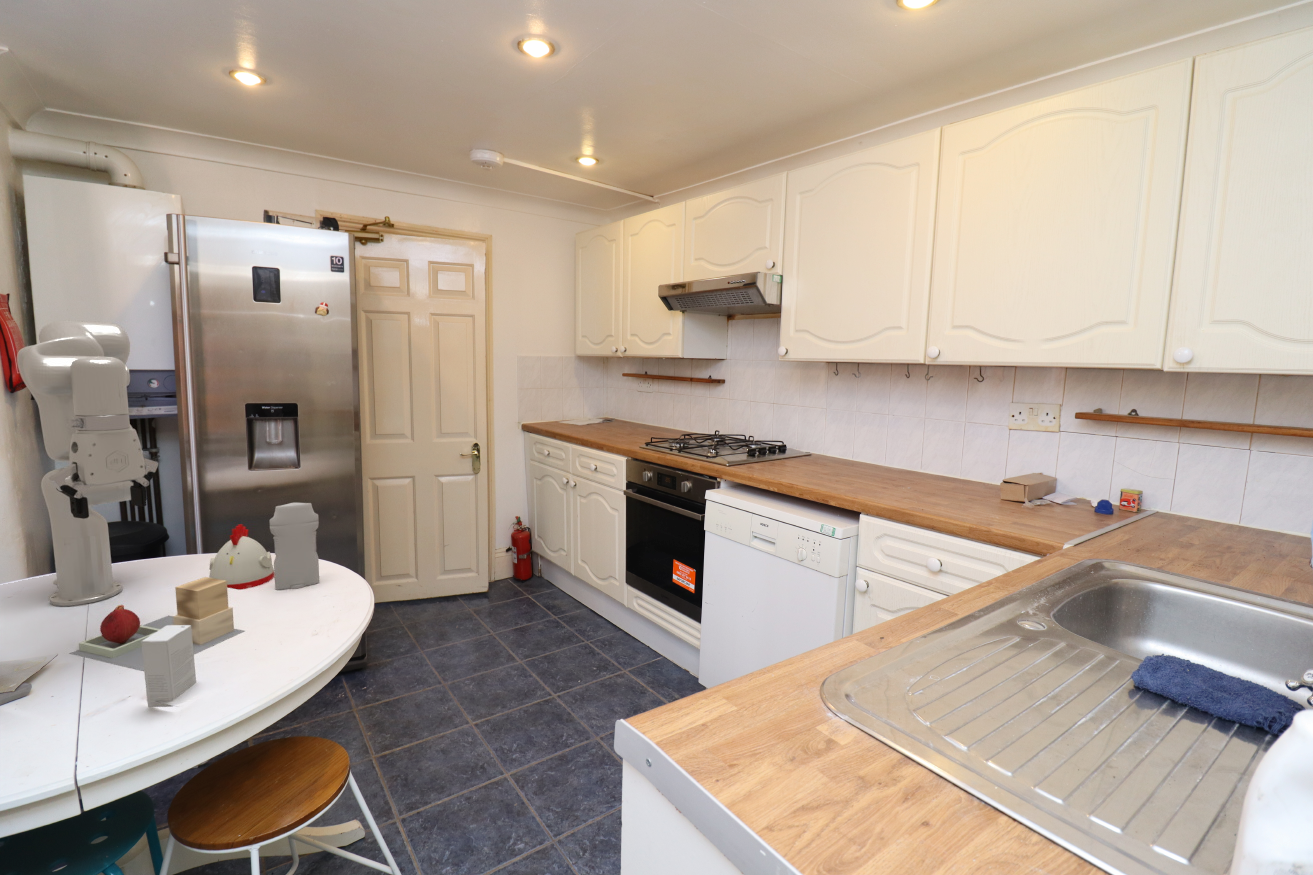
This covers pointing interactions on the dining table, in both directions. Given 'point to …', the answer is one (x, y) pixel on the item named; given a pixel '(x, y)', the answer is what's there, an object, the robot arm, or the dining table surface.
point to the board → (136, 656)
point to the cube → (201, 598)
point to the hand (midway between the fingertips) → (111, 511)
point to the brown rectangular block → (208, 625)
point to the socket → (94, 648)
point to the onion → (119, 625)
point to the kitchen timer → (242, 562)
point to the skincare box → (168, 664)
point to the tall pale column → (295, 546)
